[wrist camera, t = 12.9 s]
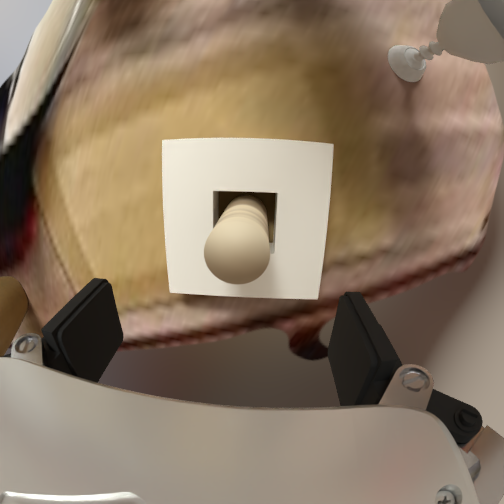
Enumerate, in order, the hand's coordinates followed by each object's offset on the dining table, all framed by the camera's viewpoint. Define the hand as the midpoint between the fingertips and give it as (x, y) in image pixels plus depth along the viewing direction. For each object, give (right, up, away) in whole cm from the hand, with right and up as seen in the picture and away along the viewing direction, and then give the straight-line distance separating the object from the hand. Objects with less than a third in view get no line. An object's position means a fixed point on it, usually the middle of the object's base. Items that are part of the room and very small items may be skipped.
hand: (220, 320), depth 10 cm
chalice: (+19, +25, +12) cm, 33 cm away
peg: (+1, +7, +19) cm, 20 cm away
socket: (+1, +7, +19) cm, 20 cm away
